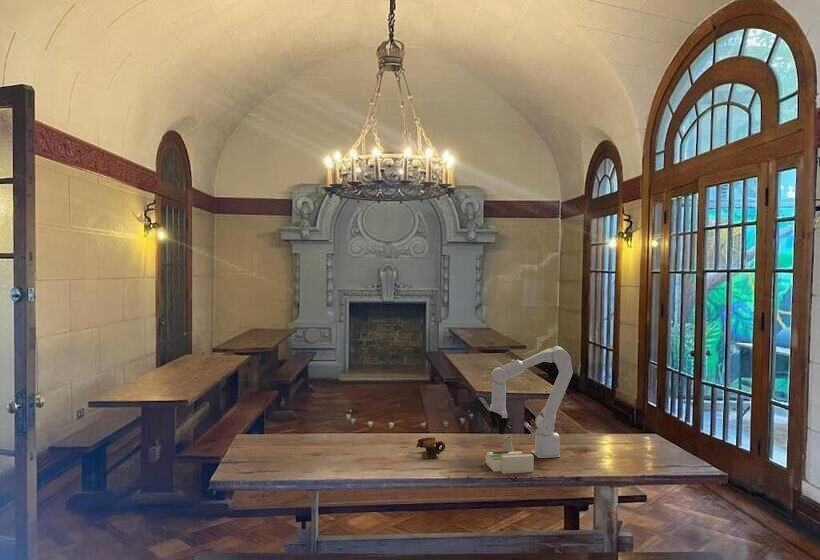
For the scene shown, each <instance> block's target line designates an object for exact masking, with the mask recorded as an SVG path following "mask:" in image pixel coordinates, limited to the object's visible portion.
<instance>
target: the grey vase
mask: <svg viewBox="0 0 820 560" xmlns="http://www.w3.org/2000/svg"><path fill="white" fill-rule="evenodd" d="M503 437H504V438H503V439H504V445H503V448H502V451H508V452H515V450H514V448H513V443H512V441H513V437H512V436H511V435H505V436H503ZM500 457H501V455H500Z"/></svg>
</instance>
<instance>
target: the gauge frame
mask: <svg viewBox="0 0 820 560" xmlns="http://www.w3.org/2000/svg"><path fill="white" fill-rule="evenodd" d="M493 452H495V451H494V450H489V451H486V452H485V453H486V454H485V464H486V465H487V467H489V468H490V469H491V470H492V471H493V472H494V473H495V472H501V474H503V475H504V474H505V475H506V474H521V473H534V465H535V462H534V460H535V459H534V458H535V457H534V456H535V455H534V454H533V453H529V454H523V455H507V456H501V455H500V456H501V457H500V456H499V454H493Z"/></svg>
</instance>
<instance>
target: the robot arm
mask: <svg viewBox="0 0 820 560" xmlns="http://www.w3.org/2000/svg"><path fill="white" fill-rule="evenodd" d="M543 362H546V363H550V364H551V363H554V364H555V365H556V368H557V370H558V374H557V376H556V379H555V381H554V384H553V386H552V389H551V391H550V392H549V393H550V394H549V396H548V397H547V398H548V399H547V400H546V403H545V404H544V407H543V408H542V409H541V411H540V413H539V414H537V416H536V417H535V420H534V423H535V425H536V427H537V428H536V429H535V433H534V436H535V438H534V450H530V452H531V454H532V455H533V456H536V457H537V458H538V459H547V458H548V459H550V458H560V457H561V453H560V452H561V437H560V435H559V433H558V432H557V431H556V432H555V423H556V419H557V413H558V410H559V408H560V405H561V403H562V401H563V399H564V396H565V394H566V391H567V389H568V386H569V384H570V381H571V379H572V377H573V373H574V370H573V365H572V364H573V363H572V358H571V356H570V354H569V352H568V351H566V349H563V347H562V346H559V345H554V346H552V347H551V348H550V347H549V348H546V349H543V350H542V351H540V352H538V353H536V354H534V355H531V356H529V357H528V358H527V357H526V359H523V360H520V359H516V360H515V359H511V362H508V363H507V364H502V365H500V367H499V366H498V367H495V368H494V369H493V370H492V371H491V373H490V376H491V378H492V382H491V384H492V386H491V403H490V404H489V408H488V410H486V411H487V414H488V416H489V419H490V424H491V428H492V429H497V431H498V434H499V435H503V434H505V432H506V429H507V426H508V423H509V421H510V419H511V417H510V416H508V412H507V408H506V407H507V405H506V403H507V401H506V400H507V386H506V384H507V380H510V379H512V378H514V377H517V376H519V375H522V374H523V373H525V370H526V369H528V368H531V367H533V366H536V365H539V364H541V363H543Z"/></svg>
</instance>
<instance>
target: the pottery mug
mask: <svg viewBox="0 0 820 560" xmlns="http://www.w3.org/2000/svg"><path fill="white" fill-rule="evenodd" d="M440 446H441V448H440ZM415 448H416V449H417V448H420V449H425V451H424V452H422V453H421V456H422V457H421V458H422V459H424V460H425V459H437V456H440V454H441V453H443V452H444V451H445V448H446V444H445V442H443V441H441V440H440V441H437V440H436V437H431V436H430V437H423V438H420V439H418V440H417V444H416V447H415Z"/></svg>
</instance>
